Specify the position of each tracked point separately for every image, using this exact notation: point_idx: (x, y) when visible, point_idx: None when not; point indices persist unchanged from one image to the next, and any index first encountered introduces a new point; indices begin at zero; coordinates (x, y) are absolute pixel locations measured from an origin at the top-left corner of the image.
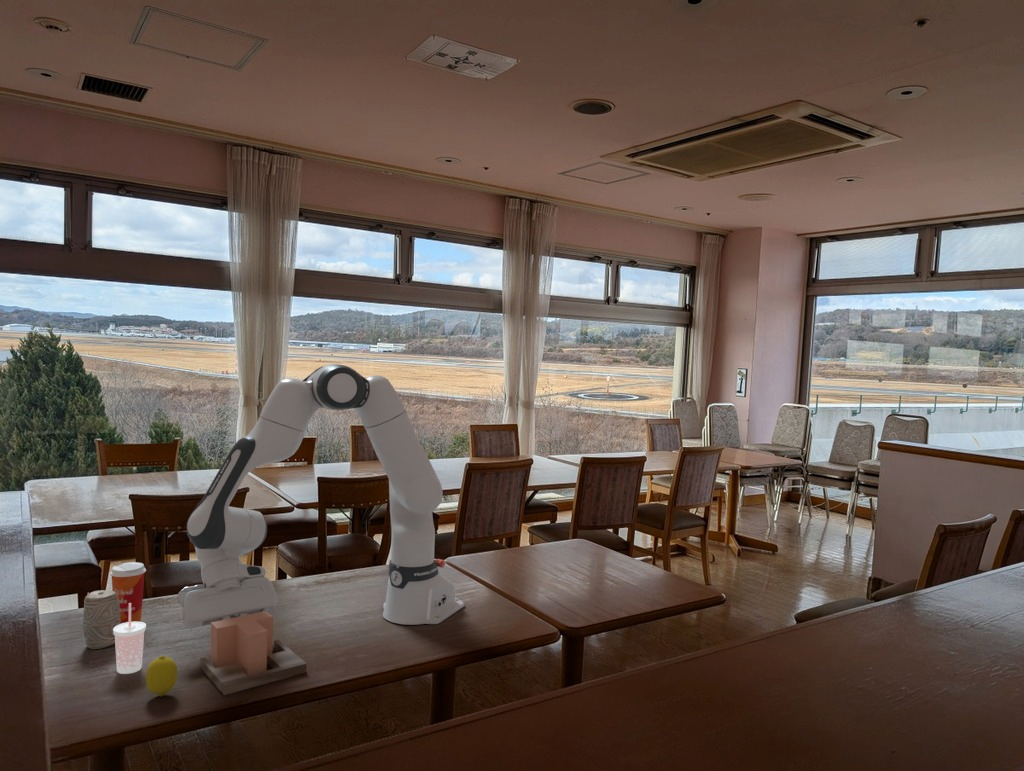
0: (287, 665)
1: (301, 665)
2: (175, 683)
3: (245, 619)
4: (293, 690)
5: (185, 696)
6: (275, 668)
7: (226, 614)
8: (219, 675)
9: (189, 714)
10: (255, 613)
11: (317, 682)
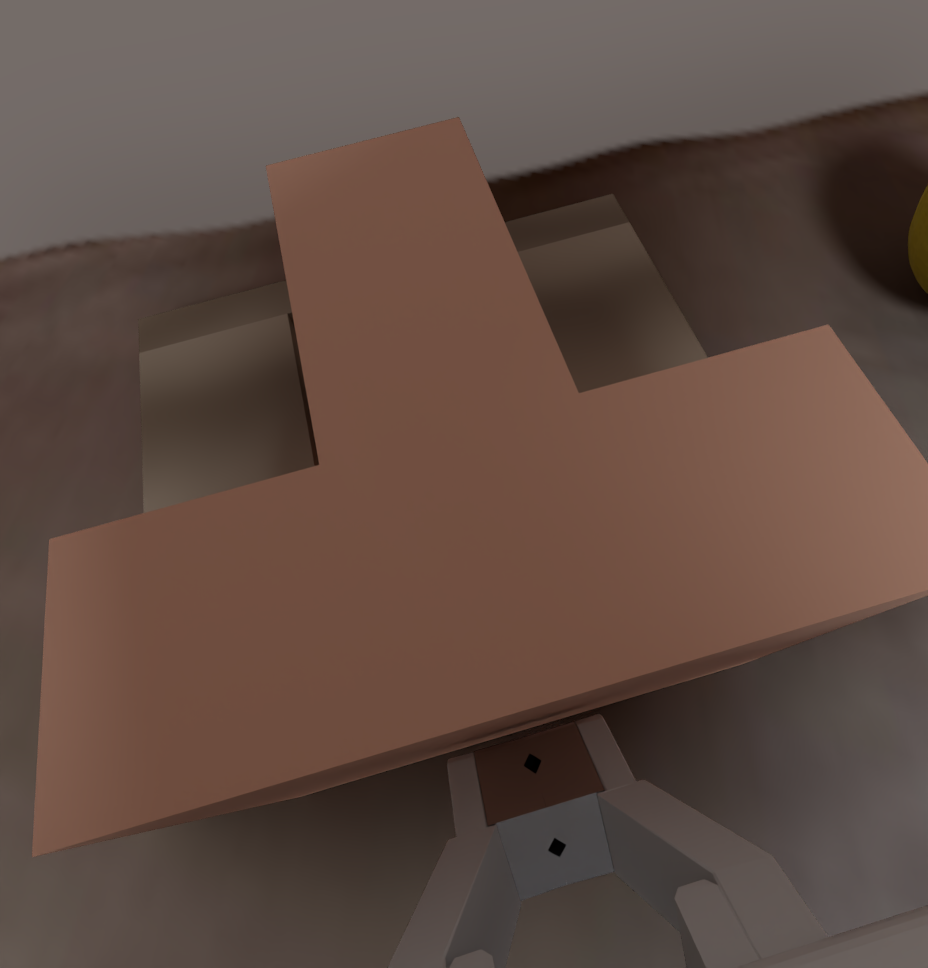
0: (245, 321)
1: (172, 315)
2: (909, 245)
3: (443, 539)
4: None
5: (804, 273)
6: None
7: (797, 953)
8: (649, 296)
9: (743, 138)
10: (244, 769)
11: (164, 256)
